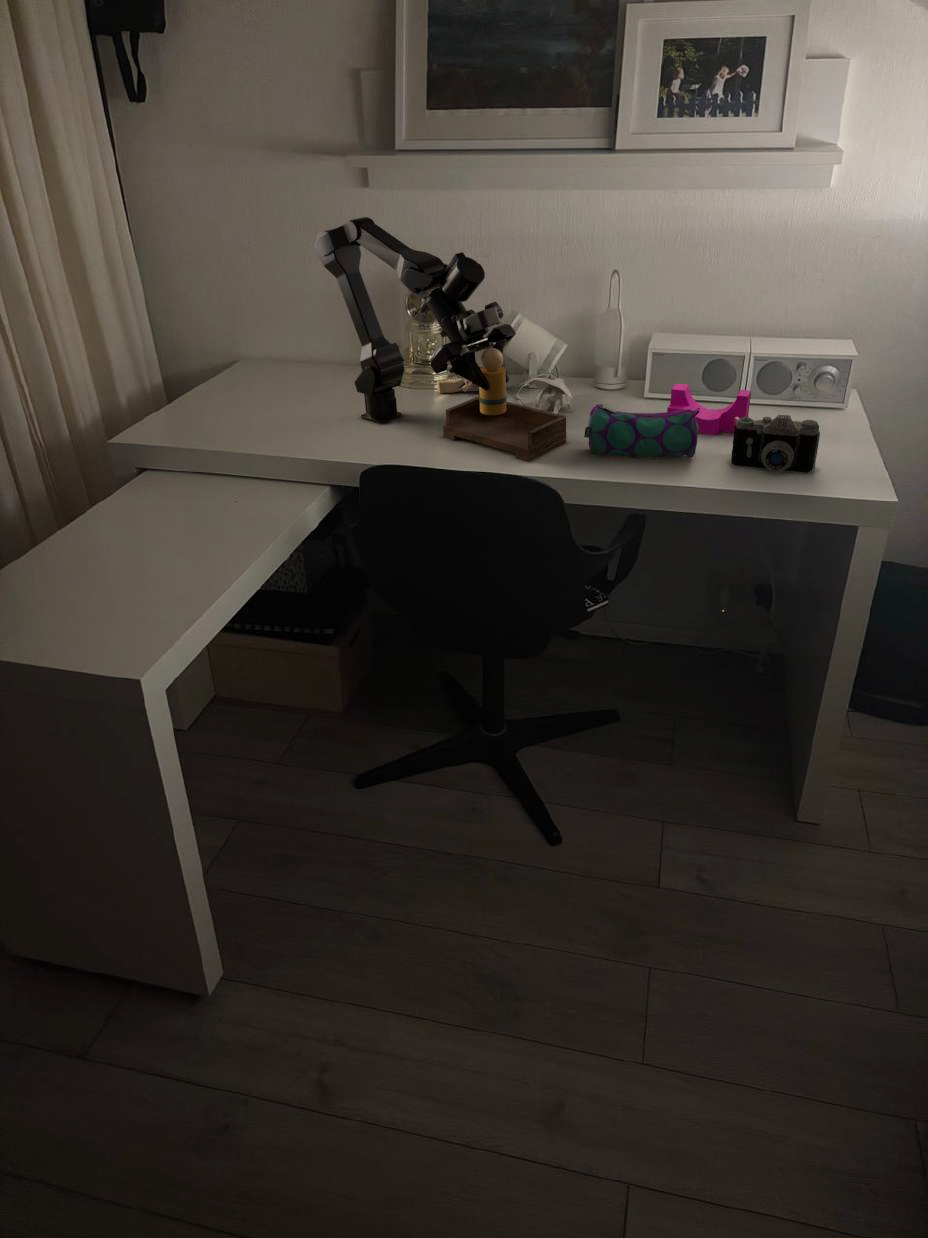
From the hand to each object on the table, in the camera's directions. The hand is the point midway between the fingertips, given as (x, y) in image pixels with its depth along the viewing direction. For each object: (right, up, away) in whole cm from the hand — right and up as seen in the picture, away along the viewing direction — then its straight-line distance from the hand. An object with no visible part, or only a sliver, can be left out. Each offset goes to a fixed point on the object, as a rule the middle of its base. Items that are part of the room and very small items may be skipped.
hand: (497, 385), depth 182 cm
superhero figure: (+13, +1, +27) cm, 30 cm away
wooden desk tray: (+2, -8, +13) cm, 15 cm away
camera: (+50, -17, -4) cm, 53 cm away
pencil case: (+27, -13, +4) cm, 30 cm away
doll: (-1, -4, +4) cm, 5 cm away
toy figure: (-4, +8, +39) cm, 40 cm away
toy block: (+43, -5, +14) cm, 45 cm away
